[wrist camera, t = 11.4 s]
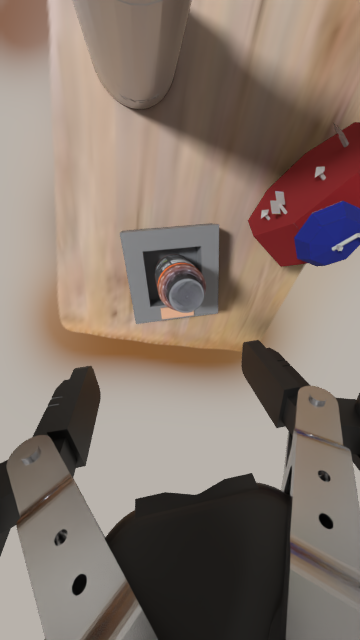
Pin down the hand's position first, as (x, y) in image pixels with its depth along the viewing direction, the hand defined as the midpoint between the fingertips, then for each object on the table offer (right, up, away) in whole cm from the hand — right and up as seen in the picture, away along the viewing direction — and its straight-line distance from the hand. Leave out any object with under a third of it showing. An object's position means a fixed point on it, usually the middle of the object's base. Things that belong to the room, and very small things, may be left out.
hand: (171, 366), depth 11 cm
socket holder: (-1, +10, +23) cm, 25 cm away
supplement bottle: (-1, +10, +22) cm, 24 cm away
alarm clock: (+14, +21, +21) cm, 33 cm away
